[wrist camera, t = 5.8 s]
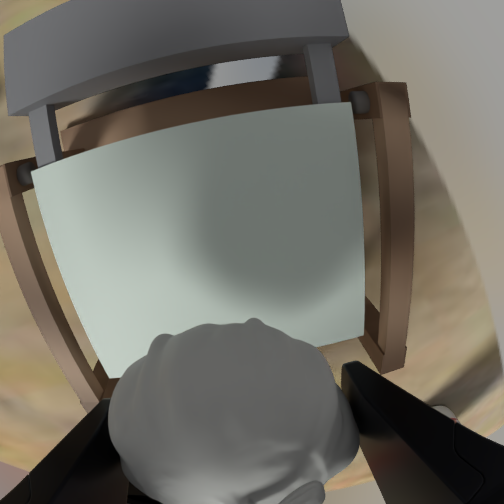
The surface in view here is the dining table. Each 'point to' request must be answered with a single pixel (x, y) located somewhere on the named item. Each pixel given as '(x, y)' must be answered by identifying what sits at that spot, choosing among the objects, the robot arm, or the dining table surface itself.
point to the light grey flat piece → (195, 176)
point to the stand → (209, 107)
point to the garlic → (232, 418)
